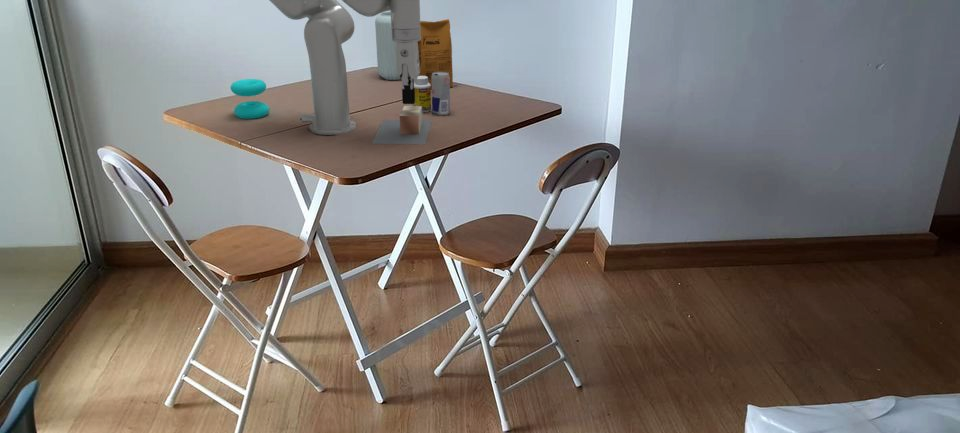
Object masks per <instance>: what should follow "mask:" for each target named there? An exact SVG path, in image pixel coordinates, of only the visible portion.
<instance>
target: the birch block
mask: <svg viewBox="0 0 960 433" xmlns="http://www.w3.org/2000/svg"><path fill="white" fill-rule="evenodd" d="M399 120H400V134H419V132H420V129H421V126H422V120H423V113H422V106H413V105H404V106H403V108H402V110H401V112H400V114H399Z"/></svg>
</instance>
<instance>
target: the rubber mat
mask: <svg viewBox="0 0 960 433" xmlns="http://www.w3.org/2000/svg"><path fill="white" fill-rule="evenodd" d="M432 123H433V119H422V126H421V129H420V132H419V134H400V119H383V120H382V122H381V124H380V126H379V129H378V130H377V133H376V135H375V136H374V138H373V140H372V142H371V145H426V142H427V139H428V136H429V132H430V128H431V127H432V126H431V125H432Z"/></svg>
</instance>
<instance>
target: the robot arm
mask: <svg viewBox="0 0 960 433" xmlns="http://www.w3.org/2000/svg"><path fill="white" fill-rule="evenodd" d="M268 1H270V3H271V4H273V6H275V8H277V10H278V11H280V12H281V13H282V14H283V15H284V16H285V17H286V18H288V19H290V20H292V21H293V20H297V21H298V20H302V19H305V18H307V19H308V20H307V22H306V23H305V26H304V29H303V38H304V43H305V48H306V50H307V54H308V62H309V70H310V78H311V80H310V81H311V88H312V99H313V111H314V112H311V113H310V114H308V113H300V114H299V120H300V121H302V123H310V128H309V129H310V131H311V132H312V133H314V134H317V135H321V136H322V135H324V136H328V135H329V136H334V135H335V136H336V135H341V134H346V133H349V132H352V131H354V130H356V128H357V124H356V122H355V121H354V120H352V119H351V114H350V113H351V112H350V102H349V101H350V98H349V91H348V77H347V76H348V74H347V65H346V64H347V62H346V59H345V54H344V51H343V48H342V44H344V43H345V42H347V41H349V40H350V39H351V38H352V36H353V35H354V33H355V22H354V19H353V17H352V15H351V13H350V12H349V11H348V10H347V9H346V8H345V7H344V6H343V5H342V4H341V3H340V2H339V1H338V0H268ZM341 1H342V2H343V3H344V4H346V5H347V6H348V7H349V8H351V9H352V11H353V10H354V11H355V12H356V13H357V14H359V15H361V16H362V17H372V18H373V17H375V16H378V15H380V13H383V12H391V30H392V41H395V42H396V52H397V73H398V79H399V80H398V81H401V85H402V86H401V95H402V96H401V98H402V104H403V105H413V104H414V103H415V88H414V83H415V80H416V79H417V78H418V76H419V73H420V66H419V50H418V41H420V40H421V27H420V21H421V4H420V2H421V1H420V0H341Z"/></svg>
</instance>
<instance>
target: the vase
mask: <svg viewBox="0 0 960 433" xmlns="http://www.w3.org/2000/svg"><path fill="white" fill-rule="evenodd" d="M374 22H375V23H374V25H375V39H376V40H375V43H376V44H375V45H376V59H377V60H376V61H377V73H378V74H379V76H381V78H383V79H384V80H388V81H400V80H399V79H398V73H397V52H396V42H395V41H392V30H391V11H385V12H382V13H380V14H377V15H376V18H375V21H374Z"/></svg>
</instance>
